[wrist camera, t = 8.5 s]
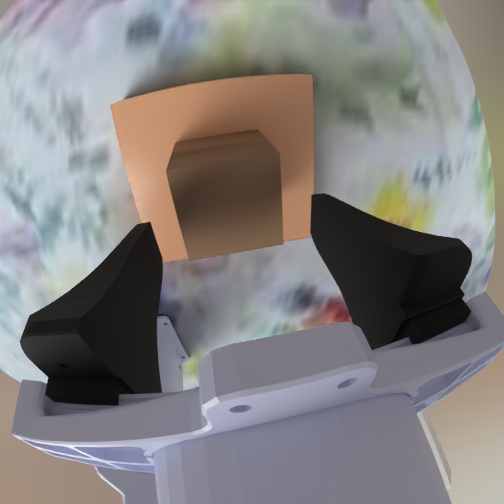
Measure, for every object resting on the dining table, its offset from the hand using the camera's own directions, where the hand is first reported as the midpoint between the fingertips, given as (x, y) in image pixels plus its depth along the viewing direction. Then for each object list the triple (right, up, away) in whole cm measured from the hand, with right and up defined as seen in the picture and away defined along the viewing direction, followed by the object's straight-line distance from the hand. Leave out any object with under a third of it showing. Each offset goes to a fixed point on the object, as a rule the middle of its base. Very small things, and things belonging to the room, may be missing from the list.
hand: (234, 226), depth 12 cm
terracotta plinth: (-2, +6, +7) cm, 9 cm away
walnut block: (-1, +4, +5) cm, 6 cm away
